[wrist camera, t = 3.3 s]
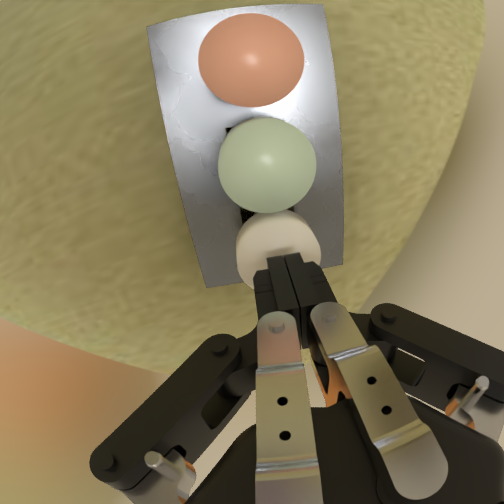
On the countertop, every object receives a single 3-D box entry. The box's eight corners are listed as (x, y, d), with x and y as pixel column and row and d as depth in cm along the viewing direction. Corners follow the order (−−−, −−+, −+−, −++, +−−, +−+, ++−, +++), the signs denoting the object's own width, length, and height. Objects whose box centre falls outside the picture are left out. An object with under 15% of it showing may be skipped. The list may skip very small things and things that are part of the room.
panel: (157, 35, 12) (146, 26, 10) (310, 14, 12) (322, 4, 10) (208, 267, 21) (206, 287, 19) (331, 246, 21) (342, 264, 18)
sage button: (214, 119, 14) (209, 127, 10) (290, 109, 14) (311, 113, 10) (227, 190, 16) (227, 220, 12) (298, 179, 16) (319, 205, 12)
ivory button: (228, 199, 16) (229, 230, 13) (299, 187, 16) (319, 216, 13) (240, 258, 18) (244, 300, 15) (303, 248, 18) (321, 287, 15)
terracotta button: (200, 40, 11) (190, 21, 8) (278, 30, 11) (296, 10, 8) (212, 110, 13) (207, 115, 10) (289, 100, 13) (310, 102, 10)
